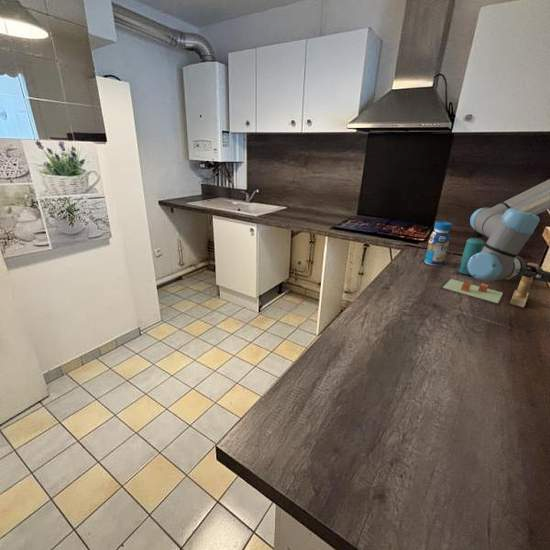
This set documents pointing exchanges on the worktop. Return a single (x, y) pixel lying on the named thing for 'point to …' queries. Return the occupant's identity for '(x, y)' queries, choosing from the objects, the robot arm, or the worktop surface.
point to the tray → (474, 291)
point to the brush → (522, 290)
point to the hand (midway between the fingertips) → (533, 267)
